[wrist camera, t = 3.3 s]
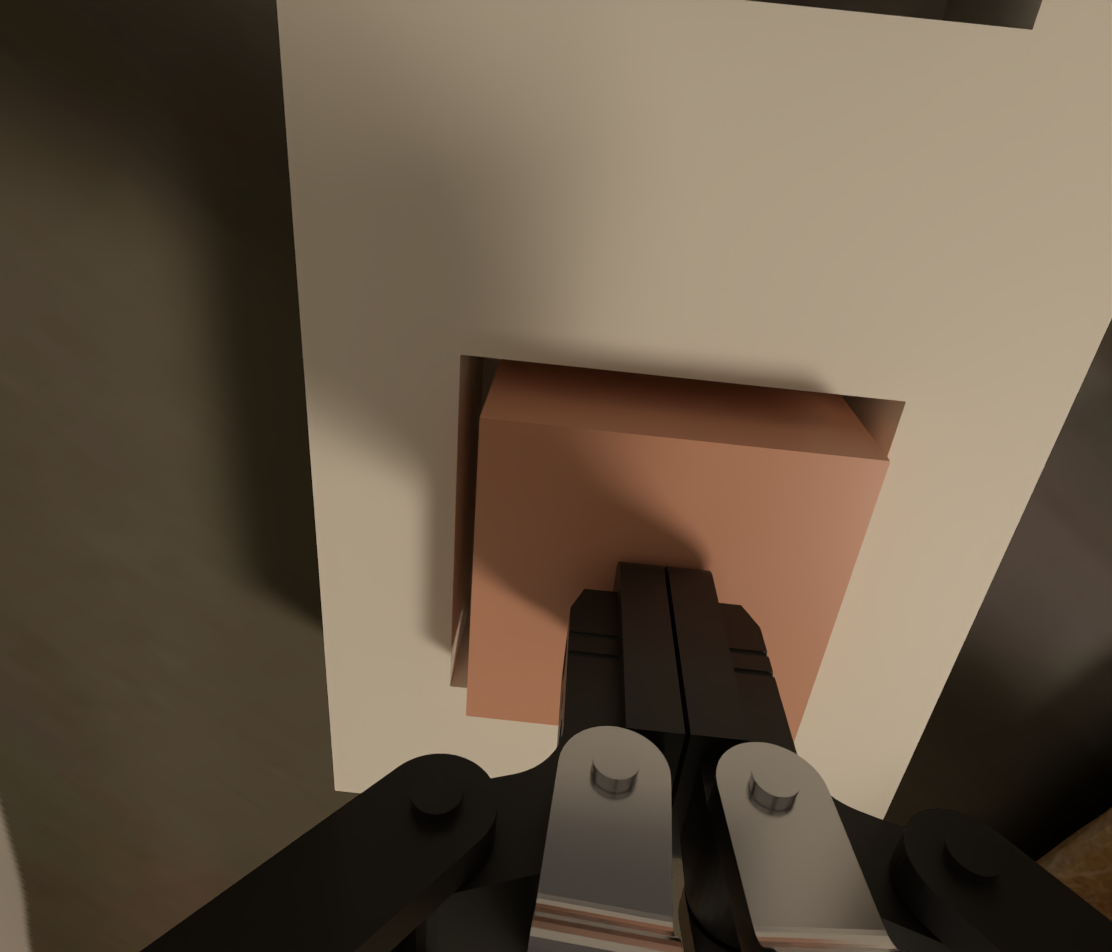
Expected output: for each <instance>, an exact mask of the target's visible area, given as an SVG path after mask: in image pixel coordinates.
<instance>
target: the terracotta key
mask: <svg viewBox="0 0 1112 952" xmlns="http://www.w3.org/2000/svg"><path fill="white" fill-rule="evenodd" d="M889 464H890V460H889V459H888V457H887V456H886V455H885V453H884V452H883V451H882V449H881V448H880V447H879V445H878V444H877V443H876V441H875V440H874V439H873V437H872V436H871V435H870V433H869V432H868V431H867V429H866V428H865V427H864V425H863V424H862V423H861V421H860V420H859V419H858V417H857V416H856V415H855V413H854V412H853V411H852V409H851V408H850V407H849V405H848V404H847V403H846V401H845V400H844V399H843V397H842V396H841V395H839V394H830V393H820V392H811V391H801V390H792V389H782V388H773V387H763V386H754V385H744V384H735V383H725V382H716V381H706V380H697V379H687V378H678V377H668V376H659V375H649V374H640V373H630V372H621V371H611V370H602V369H592V368H583V367H573V366H564V365H554V364H545V363H535V362H526V361H516V360H507V359H500V362H499V365H498V368H497V371H496V373H495V376H494V379H493V382H492V385H491V387H490V390H489V393H488V396H487V399H486V401H485V404H484V407H483V410H482V412H481V415H480V420H479V441H478V463H477V485H476V507H475V529H474V550H473V572H472V594H471V616H470V637H469V659H468V681H467V703H466V716H472V717H482V718H491V719H500V720H510V721H519V722H528V723H537V724H547V725H556V726H558V725H559V724H558V723H559V708H560V693H561V678H562V670H563V662H564V654H565V646H566V638H567V630H568V622H569V615H570V607H571V606H572V605H573V603H574V602H575V601H576V599H577V598H578V597H579V595H580V594H581V593H582V591H583V590H584V589H592V590H602V591H611V592H613V587H614V580H615V574H616V568H617V564H618V562H619V561H621V562H630V563H640V564H649V565H658V566H663V568H665V566H669V567H679V568H688V569H698V570H707V571H711V573H712V575H713V579H714V584H715V588H716V593H717V597H718V602H719V603H726V604H735V605H741V606H742V607H743V608H744V609H745V610H746V611H747V613H748V614H749V615H750V616H751V617H752V618H753V620H754V621H755V622H756V623H757V624H758V626H759V627H760V628H761V632H762V635H763V639H764V642H765V646H766V649H767V657H769V659H770V663H771V666H772V670H773V677H775V680H776V683H777V687H778V690H779V694H780V697H781V700H782V704H783V707H784V711H785V714H786V718H787V721H788V725H789V728H790V731H791V735H792V738H793V742H794V741H795V738H796V735H797V732H798V729H799V726H800V723H801V720H802V718H803V715H804V712H805V709H806V706H807V703H808V700H809V697H810V694H811V691H812V688H813V686H814V683H815V680H816V677H817V674H818V671H819V668H820V665H821V662H822V659H823V656H824V654H825V651H826V648H827V645H828V642H829V639H830V636H831V633H832V630H833V627H834V624H835V621H836V619H837V616H838V613H839V610H840V607H841V604H842V601H843V598H844V595H845V592H846V589H847V587H848V584H849V581H850V578H851V575H852V572H853V569H854V566H855V563H856V560H857V557H858V554H859V552H860V549H861V546H862V543H863V540H864V537H865V534H866V531H867V528H868V525H869V522H870V520H871V517H872V514H873V511H874V508H875V505H876V502H877V499H878V496H879V493H880V490H881V487H882V485H883V482H884V479H885V476H886V473H887V470H888V467H889Z"/></svg>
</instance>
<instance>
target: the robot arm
mask: <svg viewBox="0 0 1112 952" xmlns="http://www.w3.org/2000/svg"><path fill="white" fill-rule="evenodd" d="M558 724H559V725H558V738H557V748H556V749H555V751H554V752H553V753H552V754H551V755H550V756H549V757H548V758H547V759H546V760H545V761H543V762H542V763H540V764H539V765H537V766H535V767H534V768H531V769H529V770H526V771H524V772H520V773H516V774H512V775H506V776H501V777H495V778H490V777H489V775H488V774H487V773H486V772H485V771H484V770H483V769H482V768H481V767H480V766H478V765H477V764H476V763H474V762H472V761H470V760H468V759H466V758H464V757H460V756H457V755H452V754H437V753H436V754H428V755H423V756H420V757H416V758H414V759H411V760H409V761H407V762H405V763H403V764H402V765H400V766H399V767H397V768H396V769H394V770H393V771H391V772H390V773H389V774H387V775H386V776H384V777H383V778H382V779H380V780H379V781H378V782H376V783H375V784H373V785H372V786H371V787H369V788H368V789H366V790H365V791H364V792H362V793H361V794H359V795H358V796H357V797H355V798H354V799H352V800H351V801H350V802H348V803H347V804H345V805H344V806H343V807H341V808H340V809H338V810H337V811H336V812H334V813H333V814H331V815H330V816H329V817H327V818H326V819H324V820H323V821H322V822H320V823H319V824H317V825H316V826H315V827H313V828H312V829H310V830H309V831H308V832H306V833H305V834H303V835H302V836H301V837H299V838H298V839H296V840H295V841H294V842H292V843H291V844H290V845H288V846H287V847H285V848H284V849H283V850H281V851H280V852H278V853H277V854H276V855H274V856H273V857H271V858H270V859H269V860H267V861H266V862H264V863H263V864H262V865H260V866H259V867H257V868H256V869H255V870H253V871H252V872H250V873H249V874H248V875H246V876H245V877H243V878H242V879H241V880H239V881H238V882H236V883H235V884H234V885H232V886H231V887H229V888H228V889H227V890H225V891H224V892H222V893H221V894H220V895H218V896H217V897H215V898H214V899H213V900H211V901H210V902H208V903H207V904H206V905H204V906H203V907H201V908H200V909H199V910H197V911H196V912H195V913H193V914H192V915H190V916H189V917H188V918H186V919H185V920H183V921H182V922H181V923H179V924H178V925H176V926H175V927H174V928H172V929H171V930H169V931H168V932H167V933H165V934H164V935H162V936H161V937H160V938H158V939H157V940H155V941H154V942H153V943H151V944H150V945H148V946H147V947H146V948H144V949H143V950H141V951H140V952H683V948H684V952H1112V921H1111V920H1110V919H1108V918H1107V917H1106V916H1104V915H1103V914H1102V913H1101V912H1099V911H1098V910H1097V909H1095V908H1094V907H1093V906H1092V905H1090V904H1089V903H1088V902H1086V901H1085V900H1084V899H1083V898H1081V897H1080V896H1079V895H1077V894H1076V893H1075V892H1074V891H1072V890H1071V889H1070V888H1068V887H1067V886H1066V885H1065V884H1063V883H1062V882H1061V881H1059V880H1058V879H1057V878H1056V877H1054V876H1053V875H1052V874H1051V873H1049V872H1048V871H1047V870H1045V869H1044V868H1043V867H1042V866H1040V865H1039V864H1038V863H1036V862H1035V861H1034V860H1033V859H1031V858H1030V857H1029V856H1027V855H1026V854H1025V853H1024V852H1022V851H1021V850H1020V849H1018V848H1017V847H1016V846H1015V845H1013V844H1012V843H1011V842H1009V841H1008V840H1007V839H1006V838H1004V837H1003V836H1002V835H1000V834H999V833H998V832H996V831H995V830H994V829H992V828H991V827H989V826H988V825H986V824H984V823H982V822H981V821H979V820H977V819H975V818H973V817H970V816H968V815H966V814H963V813H960V812H956V811H952V810H947V809H928V810H924V811H921V812H919V813H917V814H915V815H914V816H913V817H912V818H911V819H910V820H909V821H908V823H907V825H906V827H905V828H903V827H900V826H898V825H895V824H892V823H890V822H887V821H884V820H882V819H879V818H876V817H874V816H871V815H869V814H866V813H863V812H861V811H858V810H856V809H854V808H851V807H849V806H847V805H845V804H844V803H842V802H840V801H838V800H837V799H835V798H834V797H832V796H831V795H830V792H829V790H828V788H827V786H826V784H825V782H824V780H823V779H822V777H821V776H820V774H819V773H818V772H817V771H816V770H815V769H814V768H813V767H812V766H811V765H810V764H809V763H808V762H807V761H805V760H804V759H803V758H801V757H800V756H798V755H797V752H796V749H795V745H794V742H793V738H792V735H791V731H790V728H789V725H788V721H787V718H786V714H785V711H784V707H783V704H782V700H781V697H780V694H779V690H778V687H777V683H776V680H775V677H773V670H772V666H771V663H770V659H769V657H767V649H766V646H765V642H764V639H763V635H762V632H761V628H760V627H759V626H758V624H757V623H756V622H755V621H754V620H753V618H752V617H751V616H750V615H749V614H748V613H747V611H746V610H745V609H744V608H743V607H742V606H741V605H735V604H726V603H719V602H718V597H717V593H716V588H715V584H714V579H713V575H712V573H711V571H707V570H698V569H688V568H679V567H669V566H665V568H663V566H658V565H649V564H640V563H630V562H621V561H619V562H618V564H617V568H616V574H615V580H614V587H613V592H611V591H602V590H592V589H584V590H583V591H582V593H581V594H580V595H579V597H578V598H577V599H576V601H575V602H574V603H573V605H572V606H571V607H570V615H569V622H568V630H567V638H566V646H565V654H564V662H563V670H562V678H561V693H560V708H559V723H558ZM672 858H679V859H682V862H683V872H684V882H685V884H684V887H683V891H682V895H681V898H680V902H679V908H678V916H679V924H680V930H681V936H682V942H683V948H682V943H681V940H680V938H679V937H675V936H674V931H673V905H672Z"/></svg>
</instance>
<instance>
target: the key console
mask: <svg viewBox="0 0 1112 952" xmlns="http://www.w3.org/2000/svg"><path fill="white" fill-rule="evenodd" d="M276 1H277V15H278V28H279V41H280V55H281V68H282V82H283V95H284V109H285V122H286V136H287V149H288V163H289V176H290V190H291V203H292V216H293V230H294V243H295V257H296V270H297V284H298V297H299V311H300V324H301V338H302V351H303V364H304V378H305V391H306V405H307V418H308V432H309V445H310V459H311V472H312V486H313V499H314V513H315V526H316V539H317V553H318V566H319V580H320V593H321V607H322V620H323V634H324V647H325V661H326V674H327V688H328V701H329V714H330V728H331V741H332V755H333V768H334V782H335V791H345V792H354V793H362V792H364V791H365V790H366V789H368V788H369V787H371V786H372V785H373V784H375V783H376V782H378V781H379V780H380V779H382V778H383V777H384V776H386V775H387V774H389V773H390V772H391V771H393V770H394V769H396V768H397V767H399V766H400V765H402V764H403V763H405V762H407V761H409V760H411V759H414V758H416V757H420V756H423V755H428V754H436V753H437V754H452V755H457V756H460V757H464V758H466V759H468V760H470V761H472V762H474V763H476V764H477V765H478V766H480V767H481V768H482V769H483V770H484V771H485V772H486V773H487V774H488V775H489V777H490V778H495V777H501V776H506V775H512V774H516V773H520V772H524V771H526V770H529V769H531V768H534V767H535V766H537V765H539V764H540V763H542V762H543V761H545V760H546V759H547V758H548V757H549V756H550V755H551V754H552V753H553V752H554V751H555V749H556V748H557V738H558V726H556V725H547V724H537V723H528V722H519V721H510V720H500V719H491V718H482V717H472V716H466V703H467V681H468V659H469V637H470V616H471V594H472V572H473V550H474V529H475V507H476V485H477V463H478V441H479V420H480V415H481V412H482V410H483V407H484V404H485V401H486V399H487V396H488V393H489V390H490V387H491V385H492V382H493V379H494V376H495V373H496V371H497V368H498V365H499V362H500V359H507V360H516V361H526V362H535V363H545V364H554V365H564V366H573V367H583V368H592V369H602V370H611V371H621V372H630V373H640V374H649V375H659V376H668V377H678V378H687V379H697V380H706V381H716V382H725V383H735V384H744V385H754V386H763V387H773V388H782V389H792V390H801V391H811V392H820V393H830V394H839V395H841V396H842V397H843V399H844V400H845V401H846V403H847V404H848V405H849V407H850V408H851V409H852V411H853V412H854V413H855V415H856V416H857V417H858V419H859V420H860V421H861V423H862V424H863V425H864V427H865V428H866V429H867V431H868V432H869V433H870V435H871V436H872V437H873V439H874V440H875V441H876V443H877V444H878V445H879V447H880V448H881V449H882V451H883V452H884V453H885V455H886V456H887V457H888V459H889V460H890V464H889V467H888V470H887V473H886V476H885V479H884V482H883V485H882V487H881V490H880V493H879V496H878V499H877V502H876V505H875V508H874V511H873V514H872V517H871V520H870V522H869V525H868V528H867V531H866V534H865V537H864V540H863V543H862V546H861V549H860V552H859V554H858V557H857V560H856V563H855V566H854V569H853V572H852V575H851V578H850V581H849V584H848V587H847V589H846V592H845V595H844V598H843V601H842V604H841V607H840V610H839V613H838V616H837V619H836V621H835V624H834V627H833V630H832V633H831V636H830V639H829V642H828V645H827V648H826V651H825V654H824V656H823V659H822V662H821V665H820V668H819V671H818V674H817V677H816V680H815V683H814V686H813V688H812V691H811V694H810V697H809V700H808V703H807V706H806V709H805V712H804V715H803V718H802V720H801V723H800V726H799V729H798V732H797V735H796V738H795V741H794V745H795V749H796V752H797V755H798V756H800V757H801V758H803V759H804V760H805V761H807V762H808V763H809V764H810V765H811V766H812V767H813V768H814V769H815V770H816V771H817V772H818V773H819V774H820V776H821V777H822V779H823V780H824V782H825V784H826V786H827V788H828V790H829V792H830V795H831V796H832V797H834V798H835V799H837V800H838V801H840V802H842V803H844V804H845V805H847V806H849V807H851V808H854V809H856V810H858V811H861V812H863V813H866V814H869V815H871V816H874V817H876V818H879V819H882V820H883V819H884V817H885V814H886V812H887V810H888V808H889V806H890V803H891V801H892V799H893V797H894V795H895V792H896V790H897V788H898V786H899V784H900V782H901V779H902V777H903V775H904V773H905V771H906V768H907V766H908V764H909V762H910V760H911V757H912V755H913V753H914V751H915V749H916V746H917V744H918V742H919V740H920V738H921V735H922V733H923V731H924V729H925V727H926V724H927V722H928V720H929V718H930V716H931V713H932V711H933V709H934V707H935V705H936V703H937V700H938V698H939V696H940V694H941V692H942V689H943V687H944V685H945V683H946V681H947V678H948V676H949V674H950V672H951V670H952V667H953V665H954V663H955V661H956V659H957V656H958V654H959V652H960V650H961V648H962V645H963V643H964V641H965V639H966V637H967V634H968V632H969V630H970V628H971V626H972V624H973V621H974V619H975V617H976V615H977V613H978V610H979V608H980V606H981V604H982V602H983V599H984V597H985V595H986V593H987V591H988V588H989V586H990V584H991V582H992V580H993V577H994V575H995V573H996V571H997V569H998V566H999V564H1000V562H1001V560H1002V558H1003V555H1004V553H1005V551H1006V549H1007V547H1008V544H1009V542H1010V540H1011V538H1012V536H1013V534H1014V531H1015V529H1016V527H1017V525H1018V523H1019V520H1020V518H1021V516H1022V514H1023V512H1024V509H1025V507H1026V505H1027V503H1028V501H1029V498H1030V496H1031V494H1032V492H1033V490H1034V487H1035V485H1036V483H1037V481H1038V479H1039V476H1040V474H1041V472H1042V470H1043V468H1044V465H1045V463H1046V461H1047V459H1048V457H1049V455H1050V452H1051V450H1052V448H1053V446H1054V444H1055V441H1056V439H1057V437H1058V435H1059V433H1060V430H1061V428H1062V426H1063V424H1064V422H1065V419H1066V417H1067V415H1068V413H1069V411H1070V408H1071V406H1072V404H1073V402H1074V400H1075V397H1076V395H1077V393H1078V391H1079V389H1080V386H1081V384H1082V382H1083V380H1084V378H1085V375H1086V373H1087V371H1088V369H1089V367H1090V365H1091V362H1092V360H1093V358H1094V356H1095V354H1096V351H1097V349H1098V347H1099V345H1100V343H1101V340H1102V338H1103V336H1104V334H1105V332H1106V329H1107V327H1108V325H1109V323H1110V321H1111V318H1112V0H276Z"/></svg>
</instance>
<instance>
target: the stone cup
mask: <svg viewBox="0 0 1112 952" xmlns="http://www.w3.org/2000/svg"><path fill="white" fill-rule="evenodd" d="M1036 863H1038V864H1039V865H1040V866H1042V867H1043V868H1044V869H1045V870H1047V871H1048V872H1049V873H1051V874H1052V875H1053V876H1054V877H1056V878H1057V879H1058V880H1059V881H1061V882H1062V883H1063V884H1065V885H1066V886H1067V887H1068V888H1070V889H1071V890H1072V891H1074V892H1075V893H1076V894H1077V895H1079V896H1080V897H1081V898H1083V899H1084V900H1085V901H1086V902H1088V903H1089V904H1090V905H1092V906H1093V907H1094V908H1095V909H1097V910H1098V911H1099V912H1101V913H1102V914H1103V915H1104V916H1106V917H1107V918H1108V919H1110V920H1111V921H1112V807H1111V808H1110V809H1108V810H1107V811H1106V812H1104V813H1103V814H1101V815H1100V816H1099V817H1097V818H1096V819H1094V820H1093V821H1091V822H1090V823H1088V824H1087V825H1085V826H1084V827H1082V828H1081V829H1079V830H1078V831H1076V832H1075V833H1074V834H1072V835H1071V836H1070V837H1068V838H1067V839H1065V840H1064V841H1063V842H1061V843H1060V844H1059V845H1057V846H1056V847H1055V848H1053V849H1052V850H1051V851H1050V852H1048V853H1047V854H1046V855H1044V856H1043V857H1041V858H1040V859H1039V860H1037V861H1036Z"/></svg>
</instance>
